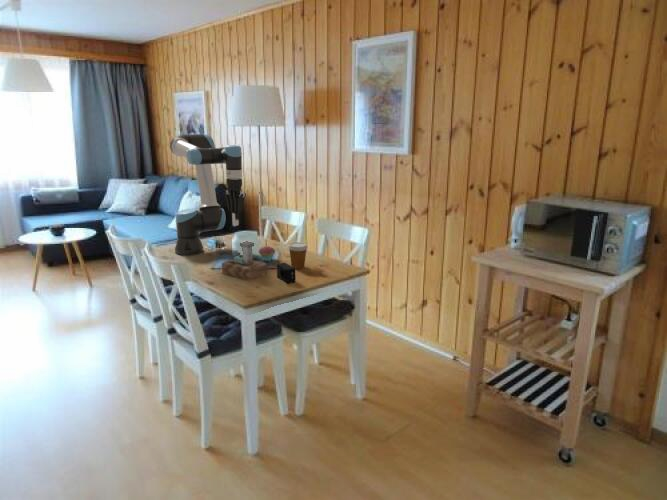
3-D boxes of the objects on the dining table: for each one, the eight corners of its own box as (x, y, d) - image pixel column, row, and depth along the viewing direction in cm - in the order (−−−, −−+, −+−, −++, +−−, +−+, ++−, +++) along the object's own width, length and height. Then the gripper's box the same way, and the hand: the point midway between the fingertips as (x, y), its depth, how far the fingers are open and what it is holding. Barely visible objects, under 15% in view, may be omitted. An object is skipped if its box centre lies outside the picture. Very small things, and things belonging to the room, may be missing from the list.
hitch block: (222, 272, 222) (221, 261, 221) (239, 266, 232) (238, 255, 230) (250, 280, 213) (250, 268, 212) (266, 273, 223) (266, 262, 221)
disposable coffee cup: (304, 271, 227) (304, 247, 224) (286, 269, 229) (286, 246, 226) (309, 265, 236) (309, 242, 233) (291, 263, 238) (291, 241, 235)
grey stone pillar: (240, 274, 221) (240, 243, 216) (247, 271, 225) (246, 241, 220) (248, 276, 219) (247, 244, 214) (254, 273, 222) (254, 242, 218)
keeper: (234, 262, 222) (234, 255, 221) (240, 260, 225) (239, 253, 224) (242, 263, 219) (241, 257, 218) (247, 261, 222) (247, 255, 222)
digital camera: (274, 278, 217) (274, 264, 215) (284, 276, 220) (284, 262, 218) (285, 284, 209) (284, 270, 207) (295, 282, 212) (295, 268, 210)
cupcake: (273, 262, 240) (273, 240, 236) (257, 262, 240) (257, 239, 237) (276, 257, 248) (275, 236, 245) (260, 257, 248) (259, 235, 245)
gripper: (218, 177, 222) (220, 224, 229) (238, 180, 215) (239, 229, 222) (230, 175, 228) (231, 221, 235) (249, 178, 221) (250, 226, 228)
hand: (235, 225), depth 229 cm, fingers closed
